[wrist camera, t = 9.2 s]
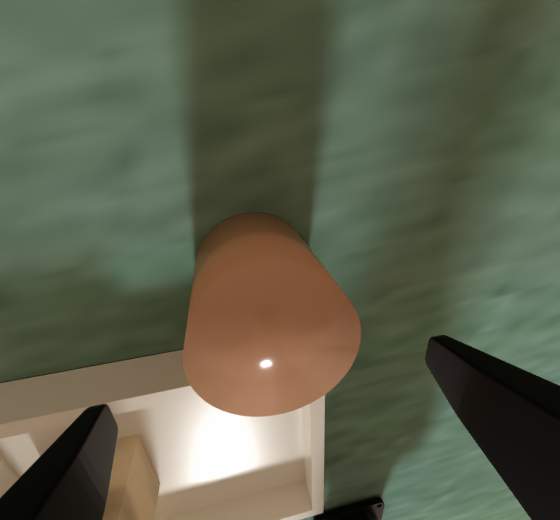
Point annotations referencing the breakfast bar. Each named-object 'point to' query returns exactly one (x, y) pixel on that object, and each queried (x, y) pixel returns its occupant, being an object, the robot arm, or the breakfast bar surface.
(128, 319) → the breakfast bar surface
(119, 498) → the maple block
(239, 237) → the terracotta domed cylinder
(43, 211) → the breakfast bar surface
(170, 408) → the tray
